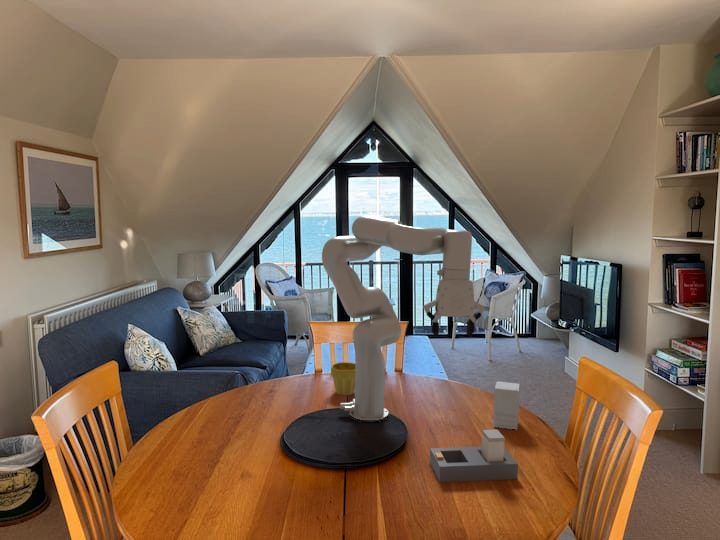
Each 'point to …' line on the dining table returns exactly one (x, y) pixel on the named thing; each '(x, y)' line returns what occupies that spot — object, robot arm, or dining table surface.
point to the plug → (492, 445)
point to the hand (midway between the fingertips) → (452, 335)
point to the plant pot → (344, 377)
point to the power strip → (470, 465)
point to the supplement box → (506, 405)
